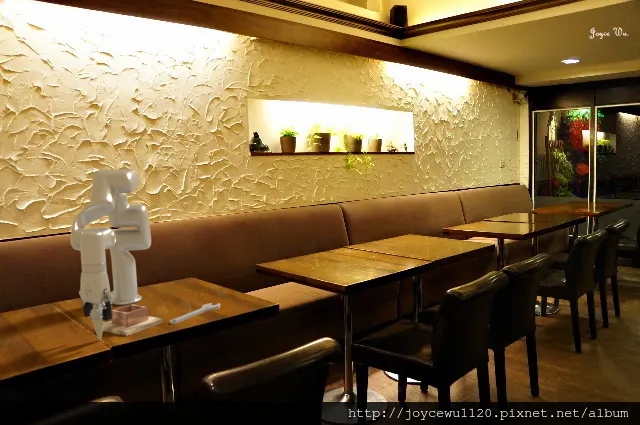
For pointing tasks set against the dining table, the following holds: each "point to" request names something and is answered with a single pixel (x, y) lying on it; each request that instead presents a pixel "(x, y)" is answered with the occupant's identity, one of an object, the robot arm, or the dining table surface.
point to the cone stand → (130, 320)
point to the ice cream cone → (97, 319)
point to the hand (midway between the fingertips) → (98, 317)
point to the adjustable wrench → (195, 312)
